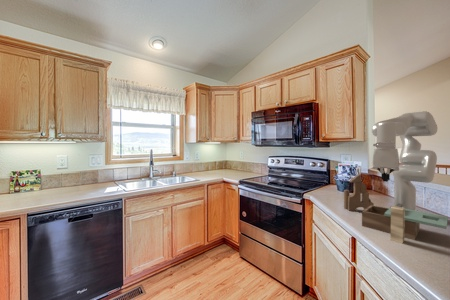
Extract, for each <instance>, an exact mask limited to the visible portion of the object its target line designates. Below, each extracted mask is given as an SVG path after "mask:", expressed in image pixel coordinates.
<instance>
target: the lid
mask: <svg viewBox="0 0 450 300" xmlns="http://www.w3.org/2000/svg"><path fill="white" fill-rule="evenodd" d="M392 206H393V205H392ZM392 206H390V207H388V208H389V209H388V210H387V211H386V212H385V213H384V216H388V217H391V207H392ZM396 206H397V207H402V208H403V204H400V203H398V204H397V205H396ZM405 220H406V221H411V222H416V223H420V225H426V226H429V227H434V228H440V229H443V230H447V229H448V228H447V227H448V222H449V216H448V215H447V216H446V215H441V214H436V213H431V212H425V211H419V210H418V211H415V210H409V209H405Z"/></svg>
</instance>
